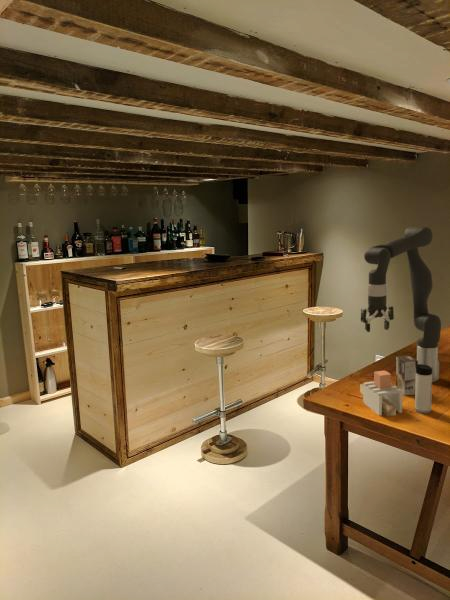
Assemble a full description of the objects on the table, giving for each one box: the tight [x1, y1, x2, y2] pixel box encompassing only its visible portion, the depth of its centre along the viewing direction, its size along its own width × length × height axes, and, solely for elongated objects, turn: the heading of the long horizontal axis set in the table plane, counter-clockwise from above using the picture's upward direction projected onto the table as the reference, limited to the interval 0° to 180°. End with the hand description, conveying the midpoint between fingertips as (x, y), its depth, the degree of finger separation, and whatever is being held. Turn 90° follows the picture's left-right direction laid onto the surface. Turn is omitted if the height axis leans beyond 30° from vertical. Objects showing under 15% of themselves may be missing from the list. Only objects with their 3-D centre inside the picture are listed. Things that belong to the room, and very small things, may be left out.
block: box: [373, 370, 392, 389], centre depth 192 cm, size 5×5×6 cm
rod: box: [359, 383, 397, 417], centre depth 199 cm, size 4×26×4 cm, turn 9°
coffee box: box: [395, 354, 418, 396], centre depth 208 cm, size 9×6×16 cm
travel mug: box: [414, 364, 433, 414], centre depth 187 cm, size 6×7×20 cm
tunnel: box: [362, 380, 403, 416], centre depth 194 cm, size 10×14×10 cm
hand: (377, 330), depth 197 cm, fingers open, 8 cm apart
